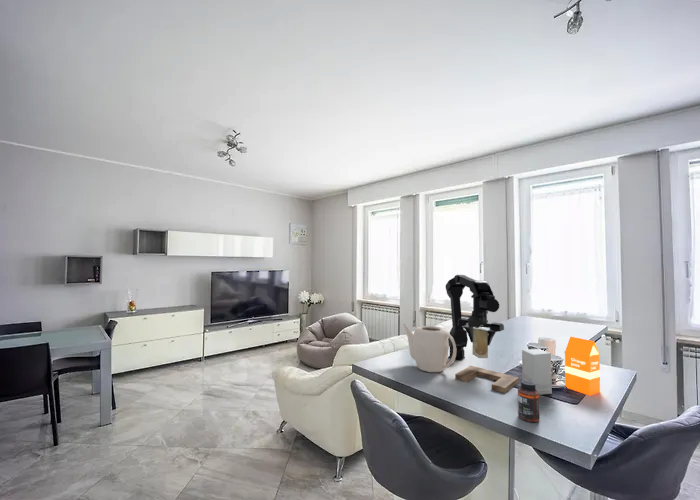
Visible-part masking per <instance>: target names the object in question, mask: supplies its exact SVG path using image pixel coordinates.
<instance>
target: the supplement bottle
mask: <svg viewBox="0 0 700 500" xmlns="http://www.w3.org/2000/svg"><path fill="white" fill-rule="evenodd" d="M520 383H521V384H520V385H521V386H520V387H518V388H517V409H518V410H517V413H518V417H519V418H520V419H521V420H523V421H525V422H527V423H528V422H529V423H537V422H539V421H540V420H541V419H540V395H539V392H538V391H537V390H536V389H535V388H536V387H535V383H534V382H532V381H527V380H523V381H522V380H521V382H520Z"/></svg>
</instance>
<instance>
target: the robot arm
mask: <svg viewBox="0 0 700 500" xmlns="http://www.w3.org/2000/svg"><path fill="white" fill-rule="evenodd" d="M466 287H467V288H468V289H469V291H470V292H471V293H472V295H471V296H470V297H471V298H472V303H473V304H472V306H473V308H472V311H471V315H469V317H468V318H465V317H463V318H462V304H461V297H462V296H463V294H464V293H463V292H464V289H465V288H466ZM445 291H446V294H447V296H448V297H449V299H450V309H451V310H450V311H451V322H452V325H451V326H452V327H451V329H450V331H449V334H450V335H451V336H452V337H453V338H454V341H455V344H456V349H457V352H456V358H455V360H456V361H462V360H464V359H466V356H465V353H466V352H465V348H466V347H467V346H468V341H469V340H470V343H473V328H489V329H488V330H487V332H488V347H490V346H491V343H492V341H493V338H494V336H495V334H496V333H498V332H502V331H504V330H505V326H504V324H503V323H501V322H491V323H489V321H488V313H496V312H497V311H498V310H499V309H500V303H499V301H498V300H497V299H496V295H494V292H493V290H492V288H491V286H490V284H489V282H488V281H486V280H476V279H474V278H471V277H469V276H467V275H465V274H456V275H454V277H453V278H450V279H449V280H448V281H447V282H446V283H445ZM468 338H469V339H468ZM448 342H449V355H448V358H447V359H451V358H452V355H453V343H452V341H451V339H450V338H449V337H448ZM455 360H454V361H455Z"/></svg>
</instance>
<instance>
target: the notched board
mask: <svg viewBox="0 0 700 500" xmlns="http://www.w3.org/2000/svg"><path fill="white" fill-rule="evenodd" d="M476 377H481V378H485V379H489V380H492V381H494V382H492V383H491V390H493V391H496V392H499V393H503V394H506V393H507V392H508V391H510V390H511V389H512V388H513V387H515V386H516V385H517V384H518V383H519V381H520V380H519V377H517V376H513V375H509V374H507V373H503V372H502V373H501V372H497V371H494V370H490V369H486V368H482V367H478V366H474V365H470V366H468V367H466V368H464V369H462V370H460V371H458V372H456V373H455V377H454V379H455V380H458V381H462V382H465V383H468V382H470V381H471V380H473V379H474V378H476ZM496 380H497V381H496Z"/></svg>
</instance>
